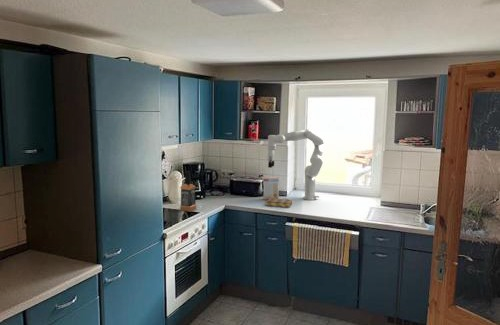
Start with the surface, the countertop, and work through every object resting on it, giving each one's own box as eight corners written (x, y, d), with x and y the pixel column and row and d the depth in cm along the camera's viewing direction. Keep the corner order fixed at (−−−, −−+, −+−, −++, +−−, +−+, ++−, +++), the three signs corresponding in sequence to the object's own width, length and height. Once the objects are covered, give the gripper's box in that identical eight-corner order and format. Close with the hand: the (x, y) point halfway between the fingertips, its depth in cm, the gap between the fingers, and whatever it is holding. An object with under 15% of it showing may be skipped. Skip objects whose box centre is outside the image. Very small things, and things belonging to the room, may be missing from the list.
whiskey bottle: (179, 210, 303) (179, 171, 299) (186, 207, 312) (186, 170, 308) (190, 211, 299) (189, 172, 295) (196, 209, 308) (196, 171, 304)
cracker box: (278, 198, 349) (279, 177, 347) (278, 200, 344) (278, 178, 341) (263, 198, 351) (264, 176, 348) (263, 199, 345) (263, 177, 342)
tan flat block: (292, 204, 330) (292, 199, 329) (289, 207, 316) (289, 203, 316) (270, 202, 335) (270, 198, 335) (266, 205, 322) (266, 201, 321)
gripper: (269, 147, 350) (269, 165, 353) (265, 148, 334) (265, 167, 336) (277, 147, 348) (277, 166, 351) (273, 149, 332) (273, 168, 334)
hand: (271, 166), depth 343 cm, fingers open, 9 cm apart
